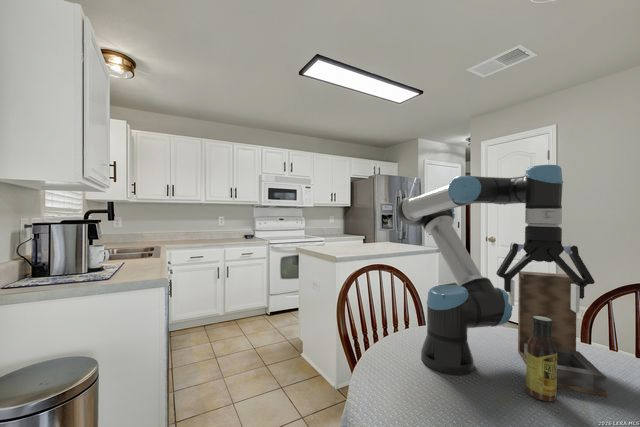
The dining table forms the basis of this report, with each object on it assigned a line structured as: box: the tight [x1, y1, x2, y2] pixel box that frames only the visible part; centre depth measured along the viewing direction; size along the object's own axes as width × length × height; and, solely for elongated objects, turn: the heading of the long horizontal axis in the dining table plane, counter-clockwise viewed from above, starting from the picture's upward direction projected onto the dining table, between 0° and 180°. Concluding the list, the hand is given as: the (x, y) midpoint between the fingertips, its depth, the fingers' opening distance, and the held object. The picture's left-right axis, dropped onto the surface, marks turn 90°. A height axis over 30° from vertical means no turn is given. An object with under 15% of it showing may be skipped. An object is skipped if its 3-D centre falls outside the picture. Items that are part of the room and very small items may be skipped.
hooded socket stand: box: [517, 270, 609, 398], centre depth 86 cm, size 15×20×28 cm
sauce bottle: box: [525, 316, 558, 403], centre depth 74 cm, size 6×6×20 cm
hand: (542, 307), depth 75 cm, fingers open, 13 cm apart
